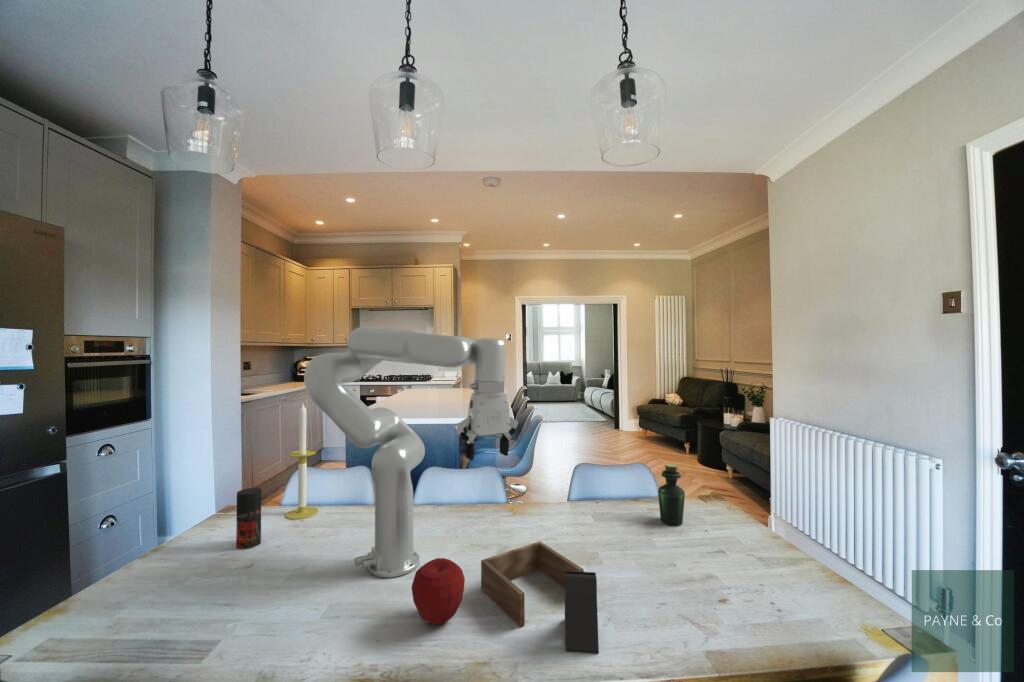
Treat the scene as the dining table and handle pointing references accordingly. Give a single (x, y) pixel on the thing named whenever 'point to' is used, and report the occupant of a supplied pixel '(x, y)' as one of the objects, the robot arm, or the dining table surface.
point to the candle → (302, 472)
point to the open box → (516, 565)
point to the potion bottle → (671, 497)
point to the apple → (438, 590)
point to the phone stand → (581, 612)
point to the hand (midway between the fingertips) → (486, 456)
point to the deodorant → (248, 518)
